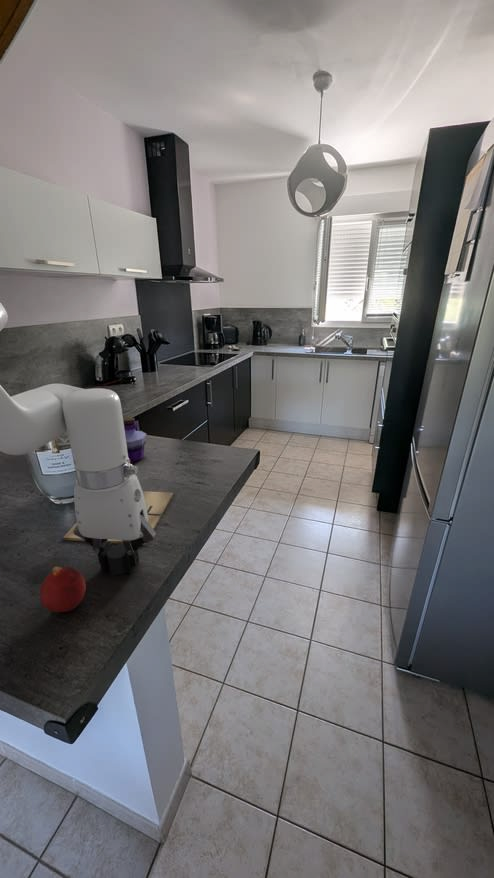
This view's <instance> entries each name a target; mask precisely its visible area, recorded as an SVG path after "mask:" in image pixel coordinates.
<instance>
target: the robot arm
mask: <svg viewBox="0 0 494 878" xmlns="http://www.w3.org/2000/svg"><path fill="white" fill-rule="evenodd" d="M8 318H9V315H8V312H7V310H6V309H5V306H4V305H3V304H2V303H1V302H0V332H1V331H2V330H3V329H4V328H5V326H6V325H7V323H8V320H9V319H8ZM123 418H124V417H123V408H122V403H121V399H120V396H119V395H118V393H117V392H115V391H114V390H112V389H107V388H99V387H98V388H96V387H95V388H82V387H77V386H72V385H69V384H64V383H49V384H45V385H41V386H39V387H36V388H32V389H29V390H26V391H23V392H20V393H17V394H15V395H12V396H10V395H9V393H8V392H7V391H6V389H5V388H4V387H3V386H2V385H1V384H0V452H1V453H4V454H6V455H9V456H24V455H27V454H30V453H32V452H35V451H37V450H39V449H40V448H42V447H44V446H46V445H47V444H49V443H50V442H53V441H55V440H56V439H58V438H60V437H63V436H68V441H69V442H68V443H69V446H70V450H71V456H72V460H73V464H74V471H75V477H76V480H75V482H74V491H73V497H74V498H73V501H74V503H73V505H74V513H75V521H76V523H77V525H76V527H75V529H74V531H73V533H74V534H75V535H76V536H78V537H80V538H82V539H84V540H85V541H84V542H85V543H87V544H88V545H90V546H91V547H92V551H93V552H94V553H96V554H97V558H98V563H99V565H100V568H101V572H102V573H107V572H109V566H108V561H107V555H106V552H107V551H108V549H109V548H110V547H112V546H113V543H111V542H107V541H108V539H112V540H122V541H123V544H124V547H125V550H126V553H125V555H124V561H125V567H126V573H125V574H127V575H132V574H133V572H134V570H135V569H136V568H137V567H138V566H139V564H140V556H139V549H140V548H141V547H142V546H144V545H143V544H144V543H146V544H147V543H149V542H152V541H153V540H155V537H156V536H157V532H156V531H155V528H154V529H153V528H152V527H151V526H150V524H149V523H148V514H147V508H146V504H145V499H144V495H143V492H142V491H143V488H142V485H141V483H140V480H139V478H138V476H137V475H138V474H139V465H133V464H132V463H130V459H128V452H127V444H126V437H125V430H124V423H123ZM140 531H141V532H142V534H140Z"/></svg>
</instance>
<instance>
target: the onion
mask: <svg viewBox="0 0 494 878" xmlns="http://www.w3.org/2000/svg"><path fill="white" fill-rule="evenodd" d="M86 590H87V584H86V580H85V578H84V576H83V574H82V573H81V572H79V571H78V570H77V569H75V568H73V567H68V566H67V567H66V566H65V567H64V566H63V567H60V566H54V567H53V568H51V571H50V573H49V574H48V575H47V576H46V577H45V578H44V580H43V581H42V584H41V587H40V590H39V599H40V601H41V604H42V607H44V608H45V609H46V610H48V611H50V612H53V613H58V614H59V613H67V612H70V611H72V610H74V609H75V608H77V606H78V605H79V604H80V603H81V602H82V601H83V599H84V596H85V593H86Z"/></svg>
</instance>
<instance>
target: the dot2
mask: <svg viewBox="0 0 494 878" xmlns="http://www.w3.org/2000/svg"><path fill="white" fill-rule="evenodd" d="M125 553H126V550H125V547H124V544H114V545H112V547H110V548H109V549H108V551H107V552H106V555H107V561H108V566H109V570H108V572H109V573H110V574H111V575H112V576H122V575H125V574H127V573H126V567H125V561H124V555H125Z"/></svg>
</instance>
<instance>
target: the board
mask: <svg viewBox="0 0 494 878" xmlns="http://www.w3.org/2000/svg"><path fill="white" fill-rule="evenodd" d="M142 492H143V495H144V499H145V504H146V508H147V514H148V523H149V524H150V526H151V527H152V528H153V529H154V530H155V528H156V527H157V525H158V523H159V522H160V519H161V518H162V516H163V514H164V512H165V511H166V509H167V507H168V505H169V503H170V502H171V500H172V498H173V496H174V492H167V491H166V492H165V491H150V490H149V491H147V490H142ZM76 525H77V522H76V523H74V525H73V526H72V527H71V528H70V529H69V530H68V531H67V532H66V533H65V534H64V536H63V537H62V539H63V541H73V542H74V541H75V542H86V541H85V540H84V539H82V538H80V537H78V536H76V535H75V534H74V533H73V531H74V529H75V527H76ZM140 534H142V532H141V531H140ZM107 542H111V544H115V545H117V544H123V541H122V540H112V539H108V541H107ZM146 545H147V543H144V544H143V545H142V546H146Z"/></svg>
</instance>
